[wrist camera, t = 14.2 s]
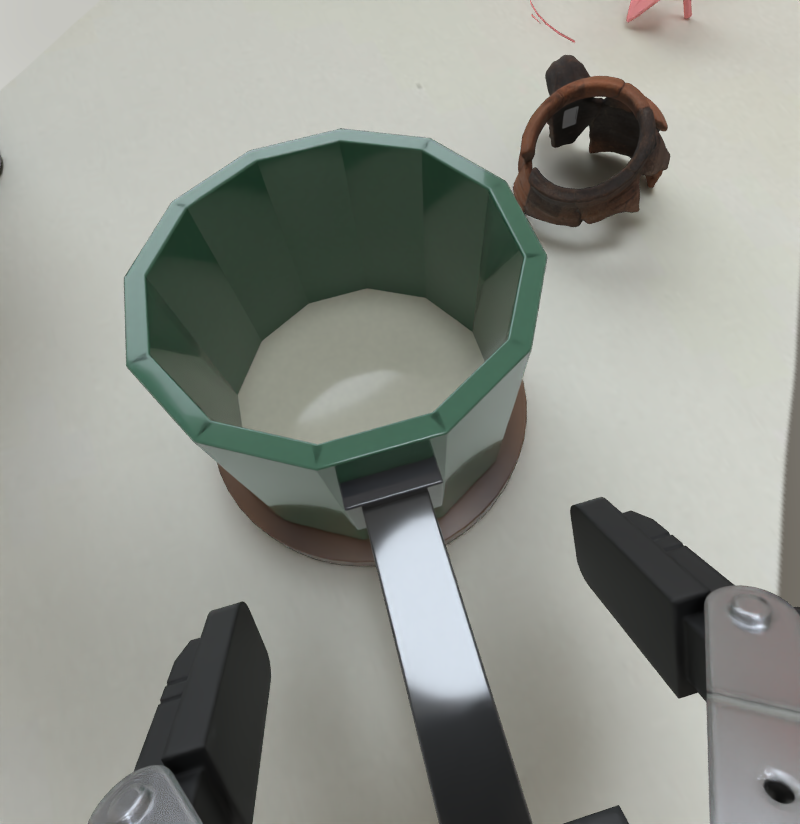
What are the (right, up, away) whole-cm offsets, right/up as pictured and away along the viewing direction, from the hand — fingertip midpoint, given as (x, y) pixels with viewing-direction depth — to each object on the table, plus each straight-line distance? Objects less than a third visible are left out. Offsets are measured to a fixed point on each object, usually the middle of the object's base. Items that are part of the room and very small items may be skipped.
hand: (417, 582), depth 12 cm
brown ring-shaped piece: (+12, +20, +23) cm, 32 cm away
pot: (-1, +1, +12) cm, 12 cm away
